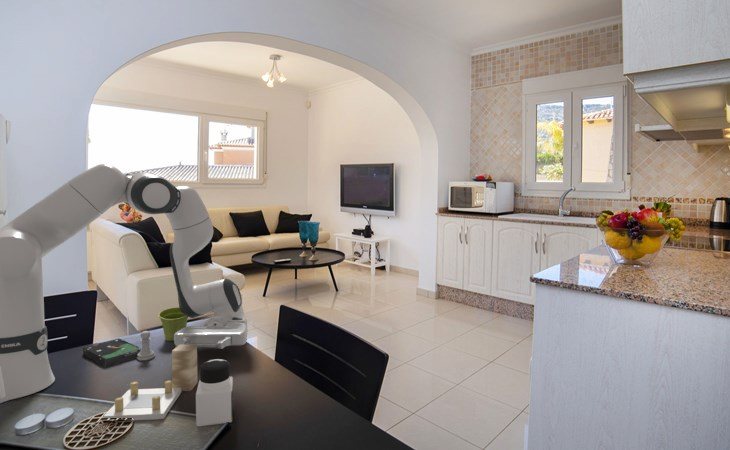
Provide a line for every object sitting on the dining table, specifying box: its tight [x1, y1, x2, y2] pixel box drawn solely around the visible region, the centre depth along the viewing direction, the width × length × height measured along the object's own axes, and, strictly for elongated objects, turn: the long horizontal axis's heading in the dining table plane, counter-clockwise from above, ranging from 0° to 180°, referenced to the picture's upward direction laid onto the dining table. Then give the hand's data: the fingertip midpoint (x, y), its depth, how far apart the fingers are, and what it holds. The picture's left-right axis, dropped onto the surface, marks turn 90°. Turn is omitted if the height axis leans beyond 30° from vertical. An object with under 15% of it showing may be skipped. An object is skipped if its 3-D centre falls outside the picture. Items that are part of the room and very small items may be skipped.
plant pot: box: [157, 306, 189, 342], centre depth 136 cm, size 9×9×9 cm
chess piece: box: [136, 330, 156, 362], centre depth 120 cm, size 5×5×8 cm
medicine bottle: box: [195, 358, 234, 428], centre depth 89 cm, size 7×7×12 cm
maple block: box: [171, 344, 198, 392], centre depth 103 cm, size 4×4×10 cm
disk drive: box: [82, 338, 142, 368], centre depth 122 cm, size 10×3×15 cm
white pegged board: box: [102, 380, 182, 421], centre depth 93 cm, size 12×12×4 cm
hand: (202, 346), depth 113 cm, fingers open, 8 cm apart
